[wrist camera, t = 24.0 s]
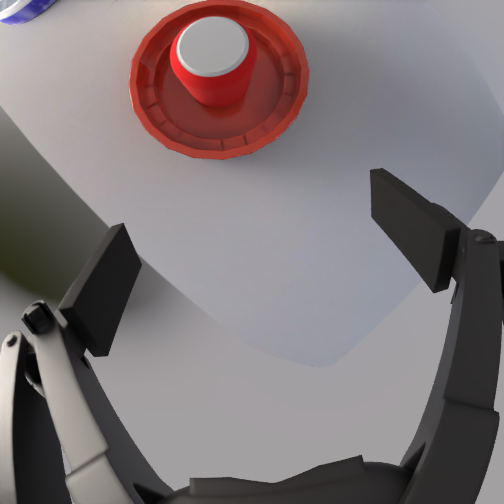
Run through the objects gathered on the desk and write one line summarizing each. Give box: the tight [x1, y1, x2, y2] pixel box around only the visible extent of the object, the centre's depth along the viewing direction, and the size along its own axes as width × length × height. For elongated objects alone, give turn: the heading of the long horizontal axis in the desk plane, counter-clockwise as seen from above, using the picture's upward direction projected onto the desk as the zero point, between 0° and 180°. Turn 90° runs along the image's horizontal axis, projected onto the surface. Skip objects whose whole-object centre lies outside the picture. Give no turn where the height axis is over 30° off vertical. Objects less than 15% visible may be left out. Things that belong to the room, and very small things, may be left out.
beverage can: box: [170, 16, 257, 108], centre depth 21 cm, size 6×6×12 cm
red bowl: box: [128, 0, 309, 160], centre depth 25 cm, size 17×17×5 cm
